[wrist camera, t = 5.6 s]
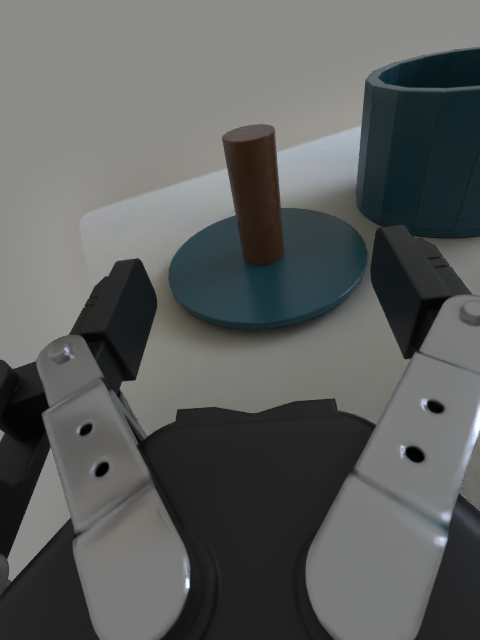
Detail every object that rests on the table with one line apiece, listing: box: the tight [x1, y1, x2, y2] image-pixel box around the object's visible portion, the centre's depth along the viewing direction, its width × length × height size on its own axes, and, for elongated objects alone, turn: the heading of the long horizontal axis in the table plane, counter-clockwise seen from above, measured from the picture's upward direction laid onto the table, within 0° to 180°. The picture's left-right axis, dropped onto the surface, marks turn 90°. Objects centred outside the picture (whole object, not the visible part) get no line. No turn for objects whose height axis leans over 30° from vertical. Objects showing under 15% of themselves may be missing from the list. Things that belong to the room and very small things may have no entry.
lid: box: [169, 124, 367, 329], centre depth 19 cm, size 12×12×8 cm
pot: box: [356, 47, 480, 238], centre depth 22 cm, size 11×11×8 cm
